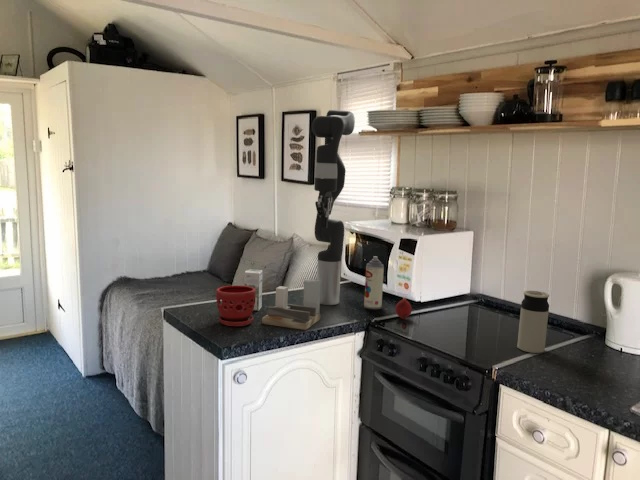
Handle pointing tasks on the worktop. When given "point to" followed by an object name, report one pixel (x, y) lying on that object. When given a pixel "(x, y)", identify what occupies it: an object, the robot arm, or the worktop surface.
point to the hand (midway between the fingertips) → (323, 228)
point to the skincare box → (312, 293)
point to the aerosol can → (374, 284)
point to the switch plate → (292, 316)
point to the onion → (403, 308)
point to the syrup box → (255, 285)
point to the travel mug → (533, 322)
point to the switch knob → (282, 297)
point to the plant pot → (236, 305)
